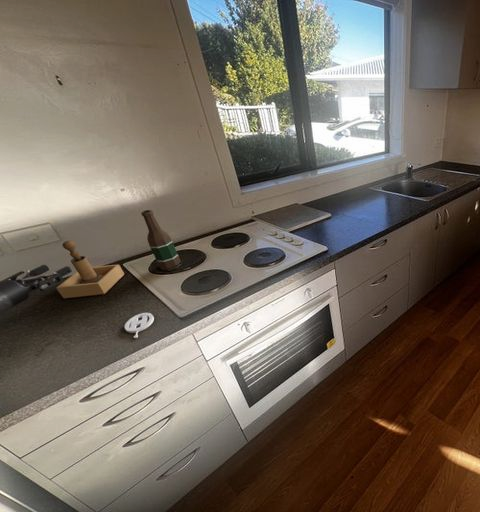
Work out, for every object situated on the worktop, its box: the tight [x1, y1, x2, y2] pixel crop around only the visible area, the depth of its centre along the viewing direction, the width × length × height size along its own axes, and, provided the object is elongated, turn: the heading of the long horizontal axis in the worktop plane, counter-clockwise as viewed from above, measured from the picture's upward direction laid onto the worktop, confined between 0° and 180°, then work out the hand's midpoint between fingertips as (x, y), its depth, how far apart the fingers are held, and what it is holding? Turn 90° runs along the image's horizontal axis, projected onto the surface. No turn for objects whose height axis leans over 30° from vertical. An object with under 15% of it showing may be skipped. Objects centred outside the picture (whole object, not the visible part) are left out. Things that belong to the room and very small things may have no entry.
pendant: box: [124, 312, 155, 339], centre depth 89 cm, size 7×11×1 cm, turn 29°
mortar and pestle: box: [61, 240, 103, 284], centre depth 102 cm, size 7×6×18 cm
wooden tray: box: [55, 264, 125, 299], centre depth 106 cm, size 13×13×5 cm
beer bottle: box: [140, 209, 182, 272], centre depth 112 cm, size 8×8×24 cm
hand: (58, 267), depth 95 cm, fingers open, 8 cm apart
